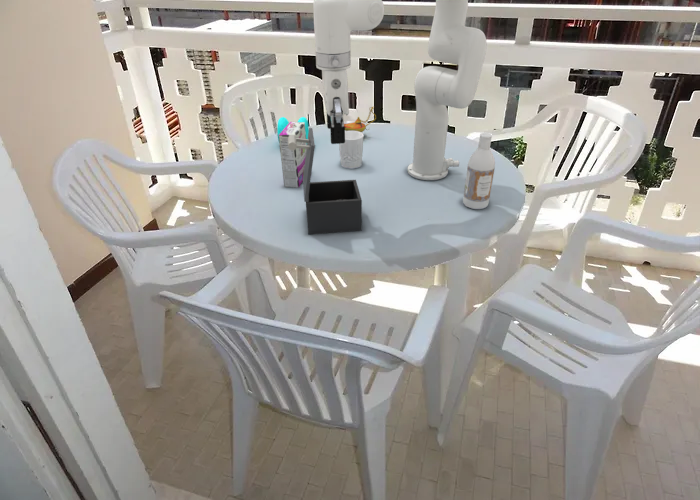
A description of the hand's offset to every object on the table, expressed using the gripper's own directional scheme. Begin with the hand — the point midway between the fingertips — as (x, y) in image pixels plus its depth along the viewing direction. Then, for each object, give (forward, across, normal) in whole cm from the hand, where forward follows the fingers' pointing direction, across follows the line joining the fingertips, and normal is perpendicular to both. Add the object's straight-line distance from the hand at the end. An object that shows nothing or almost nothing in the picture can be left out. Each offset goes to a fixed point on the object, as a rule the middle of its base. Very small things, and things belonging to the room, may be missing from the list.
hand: (335, 135), depth 114 cm
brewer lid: (+7, 0, +7) cm, 10 cm away
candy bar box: (+24, +26, +10) cm, 36 cm away
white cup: (+24, +35, -8) cm, 43 cm away
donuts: (+24, +54, +10) cm, 60 cm away
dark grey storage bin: (+23, 0, +2) cm, 23 cm away
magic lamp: (+24, +59, -11) cm, 64 cm away
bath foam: (+24, +4, -38) cm, 45 cm away
